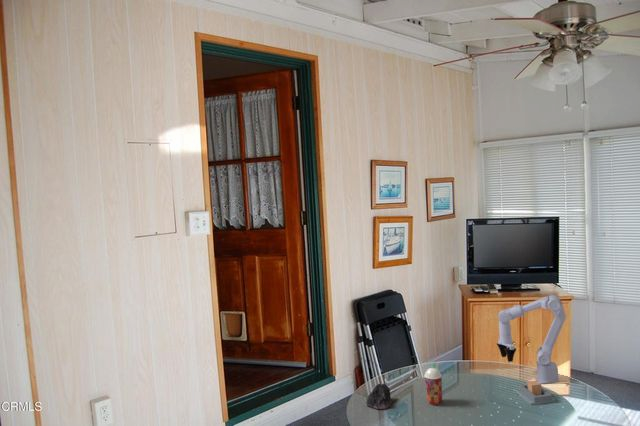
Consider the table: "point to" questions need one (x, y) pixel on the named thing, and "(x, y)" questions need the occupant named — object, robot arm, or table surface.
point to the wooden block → (534, 387)
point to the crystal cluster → (379, 397)
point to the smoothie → (433, 385)
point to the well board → (532, 398)
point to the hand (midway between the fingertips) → (507, 359)
